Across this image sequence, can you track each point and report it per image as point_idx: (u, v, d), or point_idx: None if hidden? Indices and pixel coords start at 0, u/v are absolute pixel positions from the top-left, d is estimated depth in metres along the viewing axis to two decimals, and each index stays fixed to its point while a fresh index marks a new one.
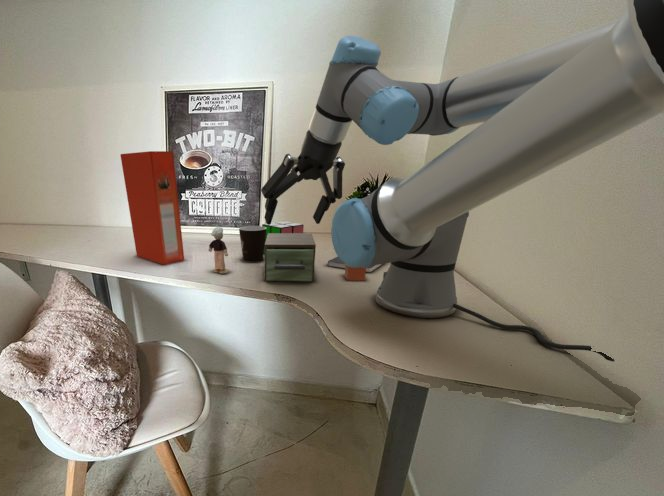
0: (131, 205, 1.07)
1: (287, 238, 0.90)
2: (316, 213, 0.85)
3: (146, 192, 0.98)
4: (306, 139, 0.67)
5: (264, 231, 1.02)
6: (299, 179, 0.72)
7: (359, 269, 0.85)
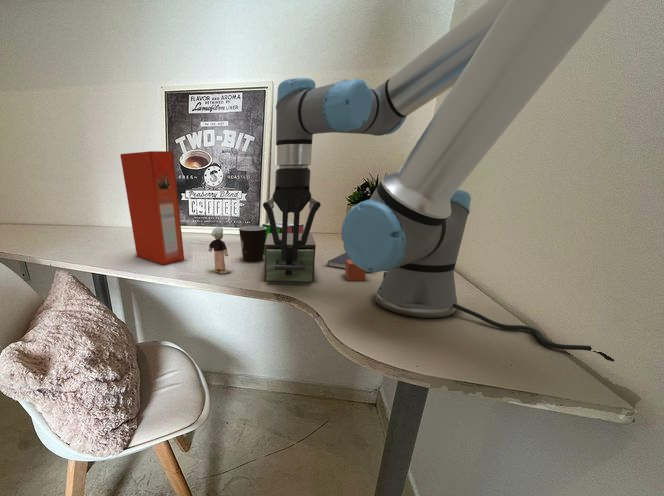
0: (131, 205, 1.07)
1: (287, 238, 0.90)
2: None
3: (146, 192, 0.98)
4: None
5: (264, 231, 1.02)
6: (285, 214, 0.74)
7: (359, 269, 0.85)
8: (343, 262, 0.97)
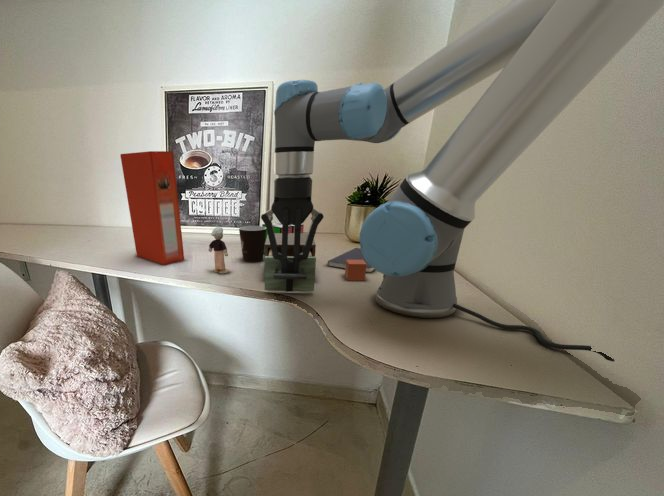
0: (131, 205, 1.07)
1: None
2: None
3: (146, 192, 0.98)
4: None
5: (264, 231, 1.02)
6: (285, 227, 0.68)
7: (359, 269, 0.85)
8: (343, 262, 0.97)
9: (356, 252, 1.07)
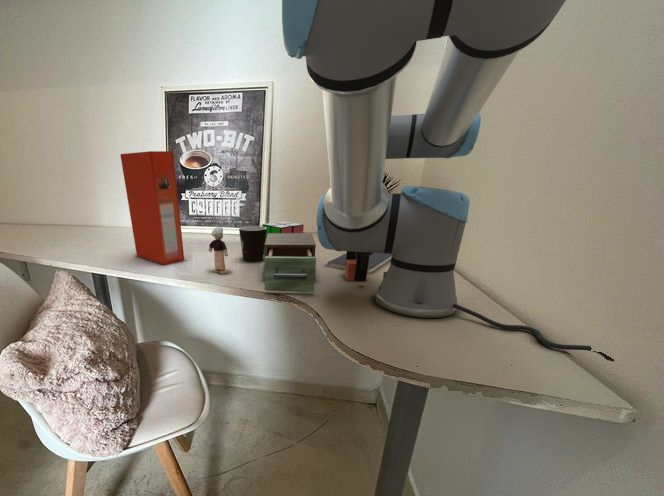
0: (131, 205, 1.07)
1: (287, 238, 0.90)
2: None
3: (146, 192, 0.98)
4: None
5: (264, 231, 1.02)
6: None
7: None
8: (343, 263, 0.97)
9: None
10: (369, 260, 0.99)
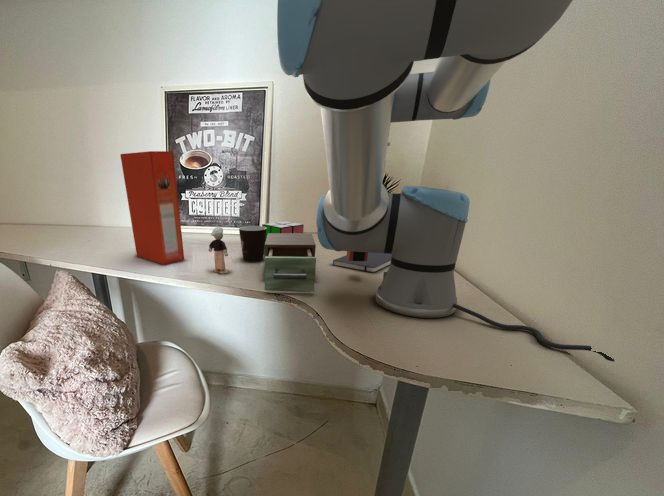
0: (131, 205, 1.07)
1: (287, 238, 0.90)
2: None
3: (146, 192, 0.98)
4: None
5: (264, 231, 1.02)
6: None
7: None
8: (348, 261, 0.97)
9: None
10: (376, 259, 0.99)
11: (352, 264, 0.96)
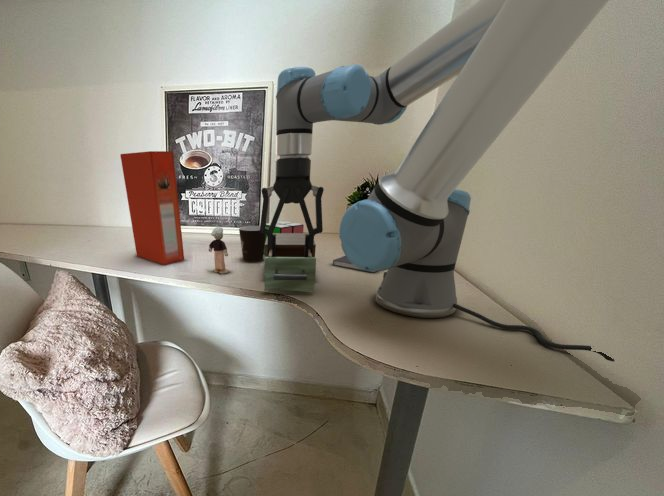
0: (131, 205, 1.07)
1: (287, 238, 0.90)
2: (304, 255, 0.80)
3: (146, 192, 0.98)
4: None
5: None
6: (281, 204, 0.74)
7: None
8: (348, 261, 0.97)
9: None
10: None
11: (352, 264, 0.96)
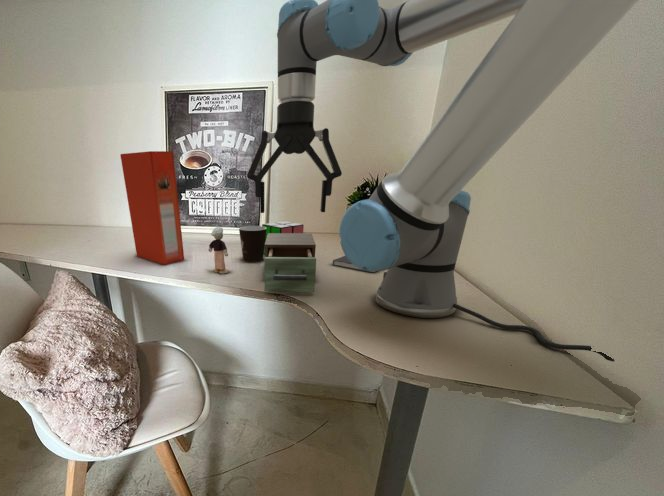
0: (131, 205, 1.07)
1: (287, 238, 0.90)
2: (321, 203, 0.75)
3: (146, 192, 0.98)
4: None
5: (264, 231, 1.02)
6: (278, 151, 0.70)
7: None
8: (348, 261, 0.97)
9: None
10: None
11: (352, 264, 0.96)
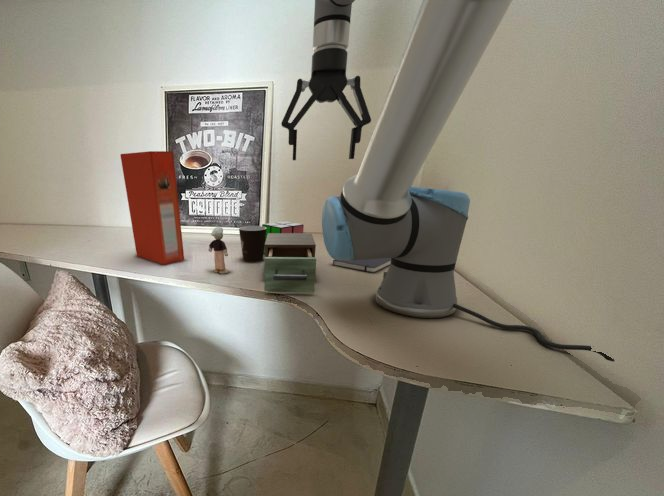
0: (131, 205, 1.07)
1: (287, 238, 0.90)
2: (350, 150, 0.80)
3: (146, 192, 0.98)
4: (312, 59, 0.73)
5: (264, 231, 1.02)
6: (312, 98, 0.75)
7: None
8: (348, 261, 0.97)
9: None
10: (376, 259, 0.99)
11: (352, 264, 0.96)
